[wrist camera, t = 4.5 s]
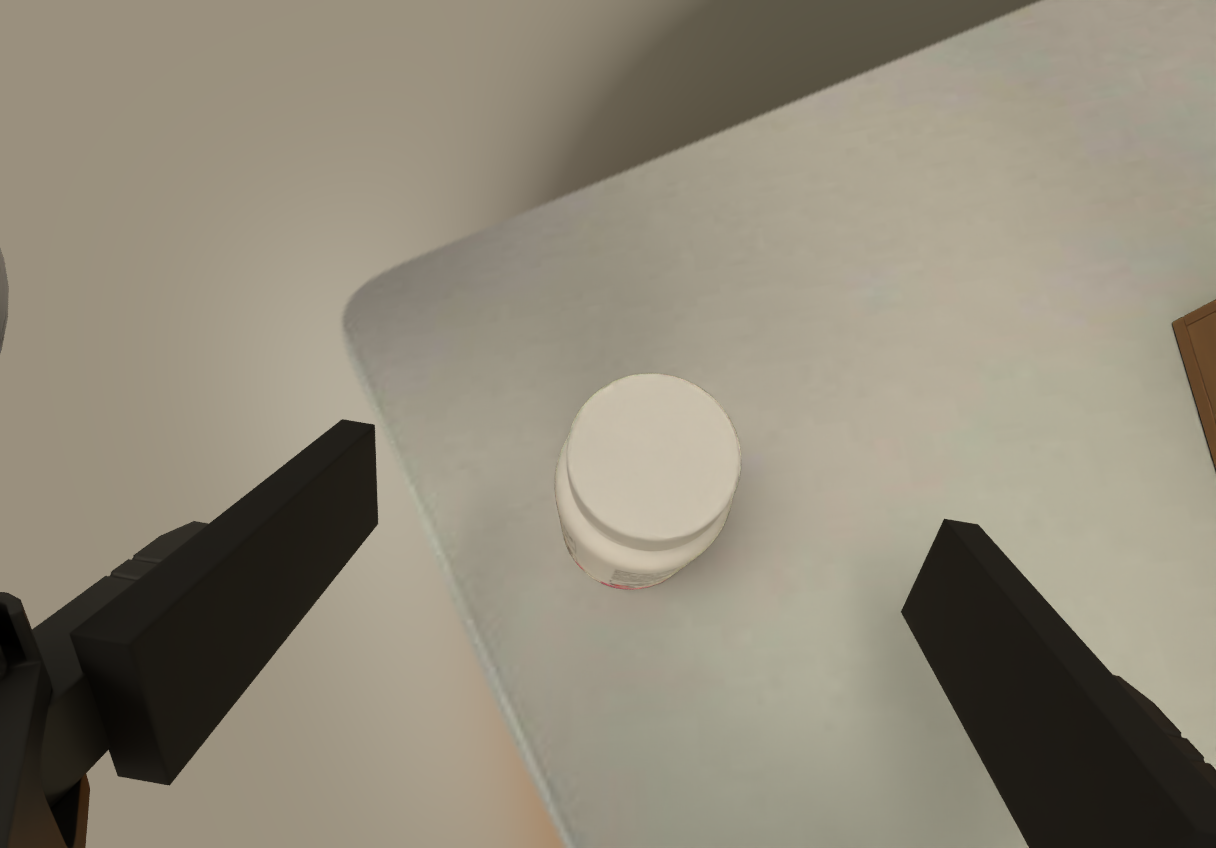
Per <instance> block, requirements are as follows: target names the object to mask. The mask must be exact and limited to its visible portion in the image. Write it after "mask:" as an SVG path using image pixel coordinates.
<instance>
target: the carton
mask: <svg viewBox="0 0 1216 848" xmlns="http://www.w3.org/2000/svg"><path fill="white" fill-rule="evenodd" d="M1172 324H1173V327H1174V331H1175V334H1176V338H1177V341H1178V344H1179V348H1180V351H1181V354H1182V358H1183V361H1184V364H1185V368H1186V371H1187V374H1188V378H1189V381H1190V384H1191V388H1192V391H1193V394H1194V398H1195V401H1196V404H1197V408H1198V411H1199V414H1200V418H1201V421H1202V424H1203V428H1204V431H1205V434H1206V438H1207V441H1208V444H1209V448H1210V451H1211V454H1212V458H1213V461H1214V464H1215V468H1216V299H1215V300H1213V301H1212V302H1210V303H1208V304H1206V305H1204V306H1202V307H1200V308H1198V309H1196V310H1195V311H1193V312H1191V313H1189V314H1187V315H1185V316H1184V317H1181V318H1179V319H1178V320H1176V321H1174V322H1172Z"/></svg>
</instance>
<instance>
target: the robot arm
mask: <svg viewBox="0 0 1216 848" xmlns="http://www.w3.org/2000/svg"><path fill="white" fill-rule="evenodd" d="M377 524H378V506H377V479H376V449H375V425H373V424H366V423H361V422H355V421H349V420H341V421H339V422H338V423H337V424H336V425H334V426H333V427H332V428H331V429H329V430H328V431H327V432H325V433H324V434H323V435H322V436H320V437H319V438H318V439H316V440H315V441H314V442H313V443H311V444H310V445H309V446H308V447H306V448H305V449H304V450H302V451H301V452H300V453H299V454H297V455H296V456H295V457H294V458H292V459H291V460H290V461H288V462H287V463H286V464H285V465H283V466H282V467H281V468H279V469H278V470H277V471H276V472H275V473H274V474H272V475H271V476H269V477H268V478H267V479H265V480H264V481H263V482H262V483H260V484H259V485H258V486H257V487H255V488H254V489H253V490H252V491H250V492H249V493H248V494H246V495H245V496H244V497H243V498H241V499H240V500H239V501H237V502H236V503H235V504H234V505H232V506H231V507H230V508H229V509H227V510H226V511H225V512H223V513H222V514H221V515H220V516H218V517H217V518H216V519H215V520H213V521H212V522H211V523H209V524H207V523H201V522H196V521H193V522H191V523H189V524H187V525H184V526H182V527H179V528H177V529H175V530H173V531H170V532H168V533H166V534H164V535H161V536H159V537H158V538H157V539H155V540H154V541H153V542H151V543H150V544H149V545H147V546H146V547H145V548H143V549H142V550H140V551H139V552H138V553H136V554H135V555H134V557H133V559H132V560H129V559H128V560H127V561H125V562H124V563H123V564H121V565H120V566H118V567H117V568H116V569H114V570H113V571H112V572H111V575H110V576H105V577H103V578H102V579H101V580H99V581H98V582H97V583H95V584H94V585H93V586H91V587H90V588H88V589H87V590H86V591H84V592H83V593H82V594H80V595H79V596H77V597H76V598H75V599H74V600H72V601H71V602H69V603H68V604H67V605H65V606H64V607H62V608H61V609H60V610H58V611H57V612H56V613H54V614H53V615H51V616H50V617H49V618H47V619H46V620H45V621H43V622H42V623H41V624H39V625H38V626H36V627H35V628H34V629H31V626H30V623H29V621H28V618H27V616H26V613H25V610H24V607H23V605H22V603H21V600H20V599H18V598H16V597H15V596H13V595H11V594H9V593H5V592H0V848H85V844H86V833H87V820H88V807H89V794H90V787H89V782H88V779H87V775H86V773H87V772H88V771H89V770H90V768H91V767H92V766H93V765H94V764H95V763H96V762H97V761H98V760H99V759H100V758H101V757H102V756H103V755H104V754H105V753H106V751H108V750H109V752H110V754H111V757H112V760H113V763H114V766H115V769H116V772H117V775H118V776H119V777H126V778H131V779H137V780H142V781H148V782H153V783H159V784H164V785H170V784H171V783H172V782H173V780H174V779H175V778H176V777H177V775H178V774H179V773H180V772H181V770H182V769H183V768H184V767H185V765H186V764H187V763H188V761H189V760H190V759H191V758H192V757H193V755H194V754H195V753H196V752H197V750H198V749H199V748H200V747H201V745H202V744H203V743H204V742H205V740H206V739H207V738H208V736H209V735H210V734H211V733H212V732H213V730H214V729H215V727H216V726H217V725H218V724H219V723H220V722H221V720H222V719H223V718H224V716H225V715H226V714H227V712H228V711H229V710H230V709H231V708H232V706H233V705H234V704H235V703H236V701H237V700H238V699H239V698H240V696H241V695H242V694H243V693H244V691H245V690H246V689H247V688H248V686H249V685H250V684H251V683H252V681H253V680H254V679H255V678H256V676H257V675H258V674H259V673H260V671H261V670H262V669H263V668H264V666H265V665H266V664H267V663H268V661H269V660H270V659H271V658H272V656H273V655H274V654H275V653H276V651H277V650H278V648H279V647H280V646H281V645H282V644H283V642H284V641H285V640H286V639H287V637H288V636H289V635H290V634H291V632H292V631H293V630H294V629H295V627H296V626H297V625H298V624H299V622H300V621H301V620H302V619H303V617H304V616H305V615H306V614H307V612H308V611H309V610H310V609H311V607H312V606H313V605H314V604H315V602H316V601H317V600H318V599H319V597H320V596H321V595H322V594H323V592H324V591H325V590H326V589H327V587H328V586H329V585H330V584H331V582H332V581H333V580H334V578H335V577H336V576H337V575H338V573H339V572H340V571H341V570H342V568H343V567H344V566H345V565H346V563H347V562H348V561H349V560H350V558H351V557H352V556H353V555H354V553H355V552H356V551H357V550H358V548H359V547H360V546H361V545H362V543H363V542H364V541H365V540H366V538H367V537H368V536H369V535H370V533H371V532H372V531H373V530H374V528H375V527H376V526H377ZM901 613H902V615H903V617H904V618H905V620H906V622H907V624H908V626H909V628H910V629H911V631H912V633H913V635H914V637H915V639H916V641H917V642H918V644H919V646H920V648H921V650H922V652H923V653H924V655H925V657H926V659H927V661H928V663H929V664H930V666H931V668H932V670H933V672H934V674H935V675H936V677H937V679H938V681H939V683H940V685H941V686H942V688H943V690H944V692H945V694H946V696H947V697H948V699H949V701H950V703H951V705H952V707H953V709H954V710H955V712H956V714H957V716H958V718H959V720H960V721H961V723H962V725H963V727H964V729H965V731H966V732H967V734H968V736H969V738H970V740H971V742H972V743H973V745H974V747H975V749H976V751H977V753H978V754H979V756H980V758H981V760H982V762H983V764H984V765H985V767H986V769H987V771H988V773H989V775H990V777H991V778H992V780H993V782H994V784H995V786H996V788H997V789H998V791H999V793H1000V795H1001V797H1002V799H1003V800H1004V802H1005V804H1006V806H1007V808H1008V810H1009V811H1010V813H1011V815H1012V817H1013V819H1014V821H1015V822H1016V824H1017V826H1018V828H1019V830H1020V832H1021V833H1022V835H1023V837H1024V839H1025V841H1026V843H1027V845H1028V846H1029V848H1216V770H1215V768H1214V767H1213V766H1212V765H1211V764H1208V763H1205V762H1204V757H1203V755H1202V754H1201V753H1200V752H1199V751H1198V750H1197V749H1196V748H1195V747H1194V746H1193V745H1192V744H1191V743H1190V741H1189V740H1188V739H1187V738H1182V737H1181V732H1180V731H1179V730H1178V728H1177V727H1176V726H1175V725H1174V724H1173V723H1172V722H1171V721H1170V720H1169V719H1168V718H1167V717H1166V716H1165V714H1164V713H1163V712H1162V711H1161V710H1160V709H1159V708H1158V707H1157V706H1156V705H1155V704H1154V703H1153V702H1152V701H1151V700H1149V699H1148V698H1147V697H1145V696H1144V695H1143V694H1142V693H1140V692H1139V691H1138V690H1136V689H1135V688H1134V687H1133V686H1131V685H1130V684H1129V683H1127V682H1126V681H1125V680H1123V679H1122V678H1121V677H1120V676H1115V675H1112V673H1111V672H1110V671H1109V670H1108V669H1107V668H1106V667H1105V666H1104V665H1103V663H1102V662H1101V661H1100V660H1099V659H1098V658H1097V657H1096V656H1095V654H1094V653H1093V652H1092V651H1091V650H1090V649H1089V648H1088V647H1087V646H1086V644H1085V643H1084V642H1083V641H1082V640H1081V639H1080V638H1079V637H1078V636H1077V634H1076V633H1075V632H1074V631H1073V630H1072V629H1071V628H1070V627H1069V625H1068V624H1067V623H1066V622H1065V621H1064V620H1063V619H1062V618H1061V617H1060V615H1059V614H1058V613H1057V612H1056V611H1055V610H1054V609H1053V608H1052V606H1051V605H1050V604H1049V603H1048V602H1047V601H1046V600H1045V599H1044V598H1043V596H1042V595H1041V594H1040V593H1039V592H1038V591H1037V590H1036V589H1035V587H1034V586H1033V585H1032V584H1031V583H1030V582H1029V581H1028V580H1027V579H1026V577H1025V576H1024V575H1023V574H1022V573H1021V572H1020V571H1019V570H1018V569H1017V567H1016V566H1015V565H1014V564H1013V563H1012V562H1011V561H1010V560H1009V558H1008V557H1007V556H1006V555H1005V554H1004V553H1003V552H1002V551H1001V550H1000V548H999V547H998V546H997V545H996V544H995V543H994V542H993V541H992V539H991V538H990V537H989V536H988V535H987V534H986V533H985V532H984V531H983V529H982V528H981V527H980V526H979V525H978V524H972V523H966V522H960V521H954V520H948V519H944V520H943V522H942V525H941V527H940V529H939V531H938V533H937V535H936V538H935V540H934V542H933V544H932V546H931V548H930V550H929V553H928V555H927V557H926V559H925V561H924V563H923V566H922V568H921V570H920V572H919V574H918V576H917V578H916V581H915V583H914V585H913V587H912V589H911V591H910V594H909V596H908V598H907V600H906V602H905V604H904V606H903V609H902V611H901Z"/></svg>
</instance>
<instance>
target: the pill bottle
mask: <svg viewBox="0 0 1216 848" xmlns="http://www.w3.org/2000/svg"><path fill="white" fill-rule="evenodd" d="M740 472H741V451H740V445H739V440H738V436H737V433H736V431H735V428H734V426H733V424H732V422H731V420H730V418H729V417H728V415H727V413H726V412H725V411H724V409H723V408H722V407H721V405H720V404H719V403H718V402H717V401H716V400H715V399H714V398H713V397H712V396H711V395H709V394H708V393H707V392H706V391H704V390H703V389H701V388H700V387H698V386H697V385H694V384H693V383H691V382H689V381H686V380H684V379H681V378H679V377H675V376H671V375H667V374H655V373H647V374H637V375H631V376H627V377H624V378H621V379H618V380H616V381H613V382H611V383H609V384H608V385H606V386H604V387H603V388H601V389H600V390H599V391H597V392H596V393H595V394H594V395H592V396H591V398H590V399H589V400H588V401H587V402H586V403H585V404H584V405H583V407H582V408H581V409H580V411H579V412H578V414H577V416H576V417H575V419H574V421H573V424H572V427H571V429H570V432H569V436H568V438H567V440H566V442H565V444H564V446H563V448H562V450H561V453H560V456H559V459H558V462H557V467H556V473H555V496H556V503H557V508H558V512H559V517H560V522H561V527H562V532H563V536H564V540H565V543H566V546H567V548H568V550H569V552H570V554H571V556H572V557H573V559H574V560H575V562H576V563H577V564H578V565H579V566H580V568H581V569H582V570H583V571H584V572H586V573H587V574H588V575H589V576H590V577H592V578H593V579H595V580H596V581H598V582H600V583H602V584H605V585H607V586H611V587H614V588H620V589H641V588H646V587H650V586H654V585H656V584H659V583H661V582H663V581H665V580H666V579H668V578H669V577H671V576H672V575H673V574H675V573H676V572H677V571H679V570H680V569H682V568H683V567H684V566H686V565H687V564H688V563H690V562H691V561H692V560H694V559H695V558H696V557H698V556H699V555H700V554H701V553H702V552H704V551H705V550H706V549H707V548H708V547H709V546H710V545H711V544H712V542H713V541H714V540H715V539H716V537H717V536H718V534H719V533H720V531H721V530H722V528H723V526H724V524H725V522H726V519H727V517H728V514H729V511H730V507H731V503H732V497H733V495H734V493H735V491H736V488H737V485H738V482H739V478H740Z"/></svg>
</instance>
